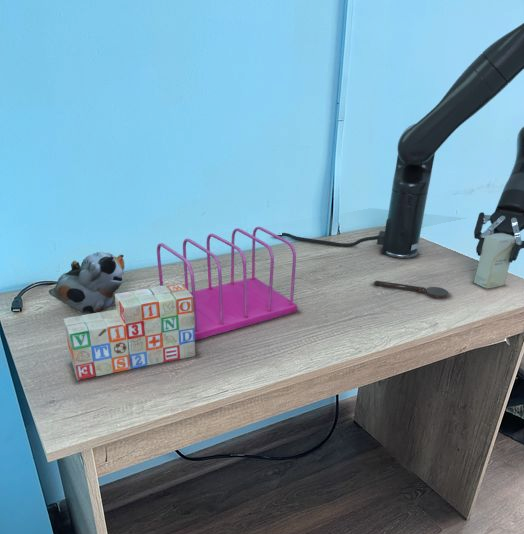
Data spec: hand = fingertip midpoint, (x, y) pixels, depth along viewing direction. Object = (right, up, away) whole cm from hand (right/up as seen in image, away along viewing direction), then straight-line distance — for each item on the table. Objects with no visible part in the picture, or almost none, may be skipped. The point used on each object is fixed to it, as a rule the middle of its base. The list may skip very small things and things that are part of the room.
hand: (494, 257), depth 125 cm
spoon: (-20, -8, +1) cm, 21 cm away
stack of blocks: (-78, -24, -29) cm, 87 cm away
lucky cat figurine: (-92, -12, -8) cm, 94 cm away
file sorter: (-63, -13, -10) cm, 65 cm away
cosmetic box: (+1, -6, +5) cm, 8 cm away
